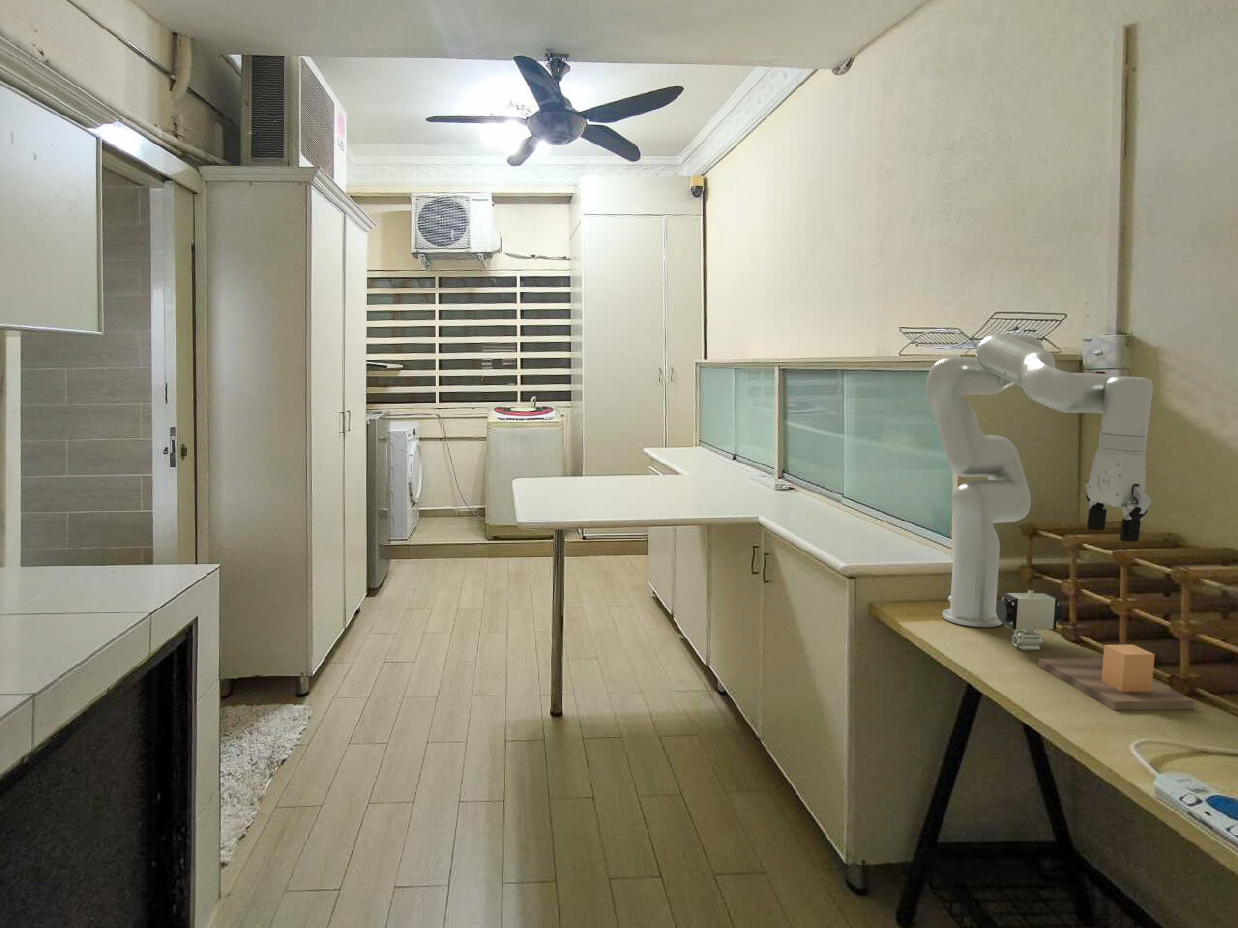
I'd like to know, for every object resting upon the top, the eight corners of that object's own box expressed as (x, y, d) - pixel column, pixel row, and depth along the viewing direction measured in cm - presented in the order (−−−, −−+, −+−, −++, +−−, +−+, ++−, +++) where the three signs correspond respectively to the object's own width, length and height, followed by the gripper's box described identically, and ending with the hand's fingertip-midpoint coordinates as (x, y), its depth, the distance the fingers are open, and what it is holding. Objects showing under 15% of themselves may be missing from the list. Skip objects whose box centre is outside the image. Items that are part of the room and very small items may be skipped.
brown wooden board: (1038, 666, 166) (1040, 637, 166) (1107, 665, 168) (1109, 637, 167) (1114, 710, 144) (1117, 678, 144) (1193, 708, 146) (1196, 676, 145)
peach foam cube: (1101, 680, 154) (1104, 644, 154) (1130, 680, 155) (1133, 644, 154) (1121, 691, 149) (1124, 654, 148) (1151, 691, 149) (1154, 654, 149)
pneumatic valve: (1061, 652, 175) (1065, 593, 174) (1004, 652, 174) (1008, 593, 173) (1046, 643, 181) (1050, 586, 179) (991, 643, 180) (994, 586, 179)
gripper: (1075, 438, 169) (1065, 525, 171) (1133, 449, 152) (1122, 545, 154) (1111, 439, 170) (1102, 525, 172) (1174, 450, 152) (1162, 546, 155)
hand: (1111, 535), depth 163 cm, fingers open, 9 cm apart
